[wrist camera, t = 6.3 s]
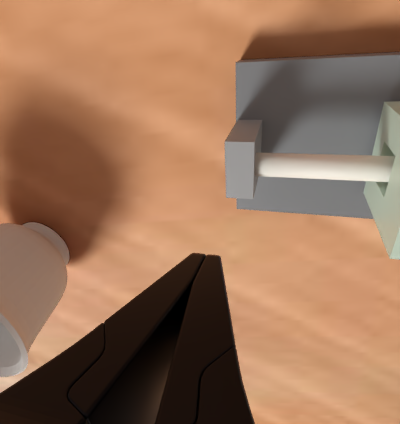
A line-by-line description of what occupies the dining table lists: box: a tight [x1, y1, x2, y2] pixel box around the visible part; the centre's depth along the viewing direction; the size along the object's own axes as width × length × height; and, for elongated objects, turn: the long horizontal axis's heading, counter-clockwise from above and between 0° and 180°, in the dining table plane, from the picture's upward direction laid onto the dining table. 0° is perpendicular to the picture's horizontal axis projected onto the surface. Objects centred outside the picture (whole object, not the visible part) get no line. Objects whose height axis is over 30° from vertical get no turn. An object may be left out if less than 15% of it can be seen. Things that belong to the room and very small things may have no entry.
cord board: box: [225, 52, 400, 219], centre depth 15 cm, size 15×9×7 cm, turn 94°
